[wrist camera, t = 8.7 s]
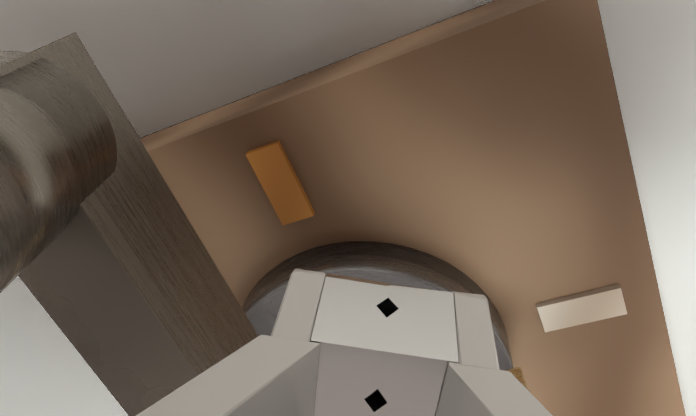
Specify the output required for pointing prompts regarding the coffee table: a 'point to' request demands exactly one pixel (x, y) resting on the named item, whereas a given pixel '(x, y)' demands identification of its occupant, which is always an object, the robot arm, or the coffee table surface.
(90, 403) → the coffee table surface
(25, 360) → the coffee table surface
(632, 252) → the base plate
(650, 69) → the coffee table surface
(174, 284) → the crank handle
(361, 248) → the post collar
